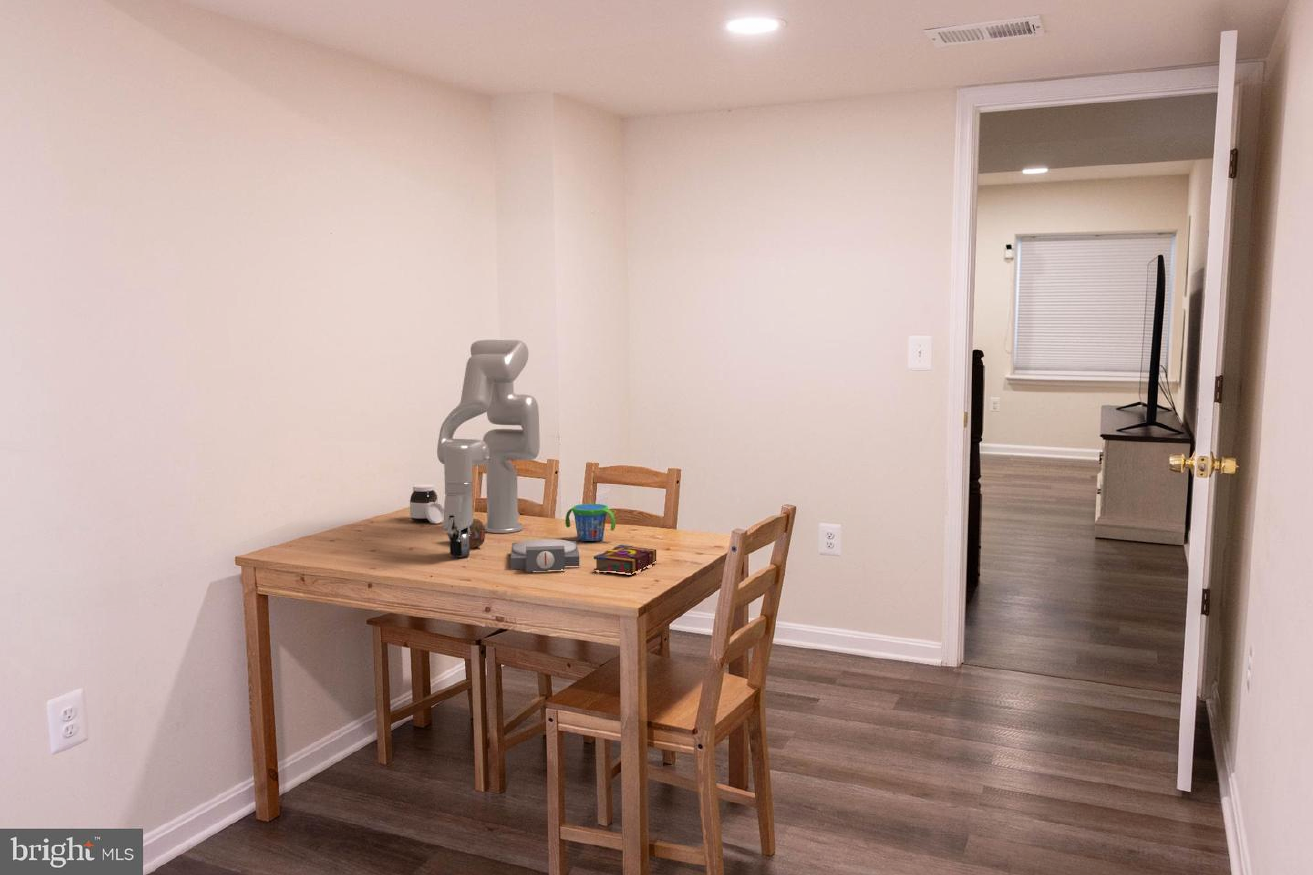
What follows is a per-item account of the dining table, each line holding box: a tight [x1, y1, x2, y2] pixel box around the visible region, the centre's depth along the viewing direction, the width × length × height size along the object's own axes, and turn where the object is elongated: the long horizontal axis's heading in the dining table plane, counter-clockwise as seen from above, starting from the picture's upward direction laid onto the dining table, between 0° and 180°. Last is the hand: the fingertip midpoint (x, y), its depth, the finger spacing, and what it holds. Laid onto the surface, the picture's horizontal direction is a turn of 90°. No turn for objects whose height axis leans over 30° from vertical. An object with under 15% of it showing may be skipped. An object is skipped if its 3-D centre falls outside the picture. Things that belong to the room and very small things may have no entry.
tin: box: [453, 517, 486, 549], centre depth 287 cm, size 15×3×8 cm, turn 47°
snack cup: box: [564, 503, 617, 542], centre depth 294 cm, size 16×10×10 cm
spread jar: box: [409, 483, 444, 525], centre depth 320 cm, size 12×11×12 cm
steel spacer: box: [450, 532, 471, 558], centre depth 273 cm, size 5×5×6 cm
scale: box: [510, 538, 580, 572], centre depth 267 cm, size 22×18×6 cm
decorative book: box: [593, 544, 657, 574], centre depth 261 cm, size 11×16×5 cm
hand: (460, 552), depth 273 cm, fingers closed on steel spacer, 5 cm apart
